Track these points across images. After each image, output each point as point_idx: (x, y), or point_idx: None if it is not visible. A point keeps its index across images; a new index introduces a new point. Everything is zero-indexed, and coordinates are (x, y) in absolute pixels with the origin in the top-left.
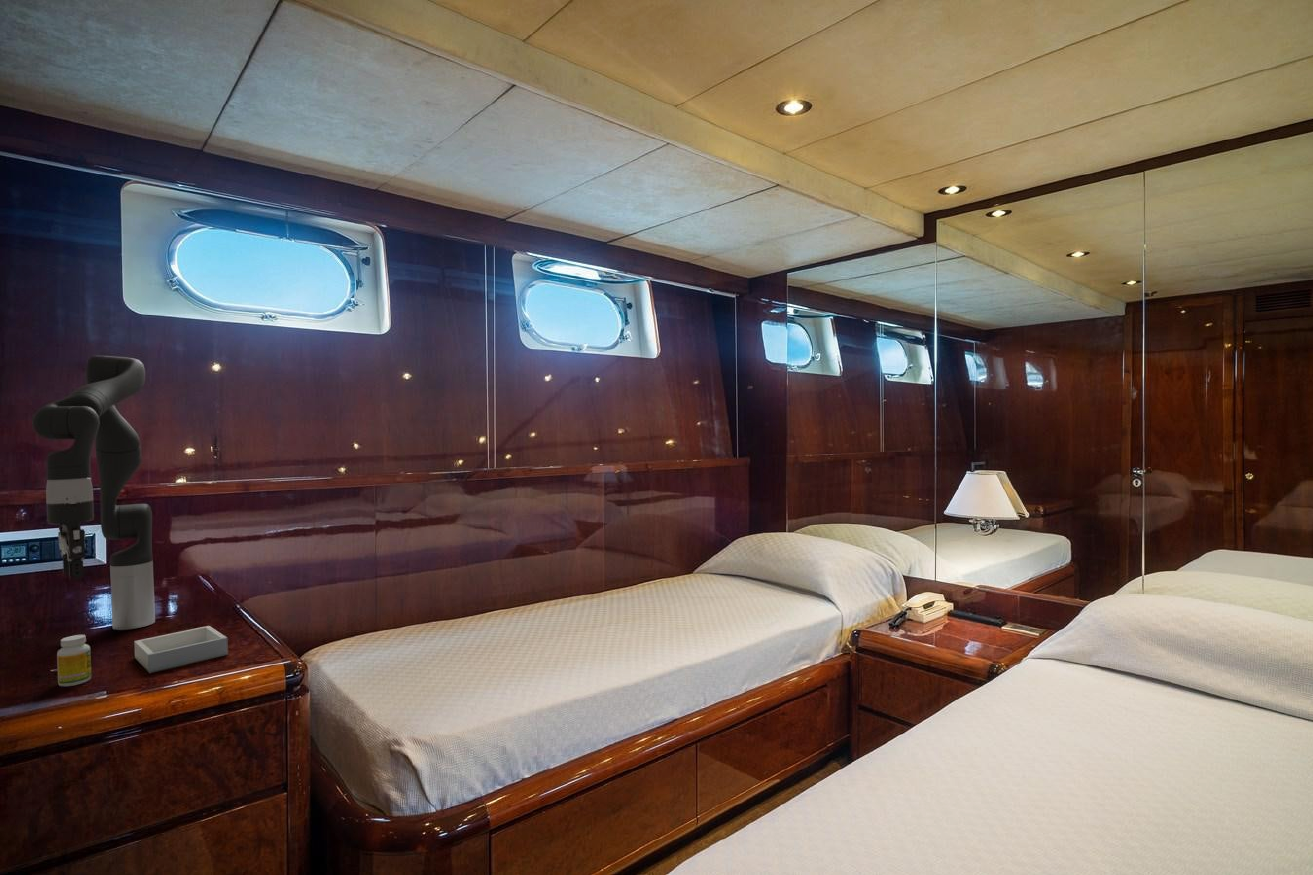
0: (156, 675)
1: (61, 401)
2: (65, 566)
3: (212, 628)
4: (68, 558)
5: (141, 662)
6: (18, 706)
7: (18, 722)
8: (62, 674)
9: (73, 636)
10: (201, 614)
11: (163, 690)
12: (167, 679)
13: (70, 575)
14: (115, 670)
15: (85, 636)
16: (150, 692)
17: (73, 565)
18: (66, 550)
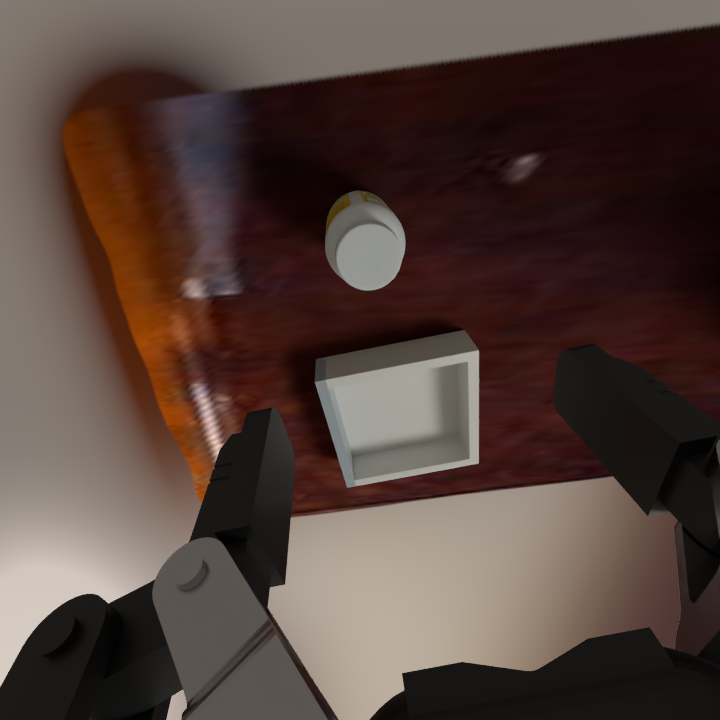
0: (290, 369)
1: None
2: (600, 390)
3: (448, 468)
4: (175, 581)
5: (395, 346)
6: (223, 109)
7: (77, 128)
8: (334, 207)
9: (388, 257)
10: None
11: (175, 383)
12: (247, 386)
13: (246, 431)
14: (392, 300)
15: (365, 289)
16: (174, 365)
17: (200, 523)
18: (199, 698)
